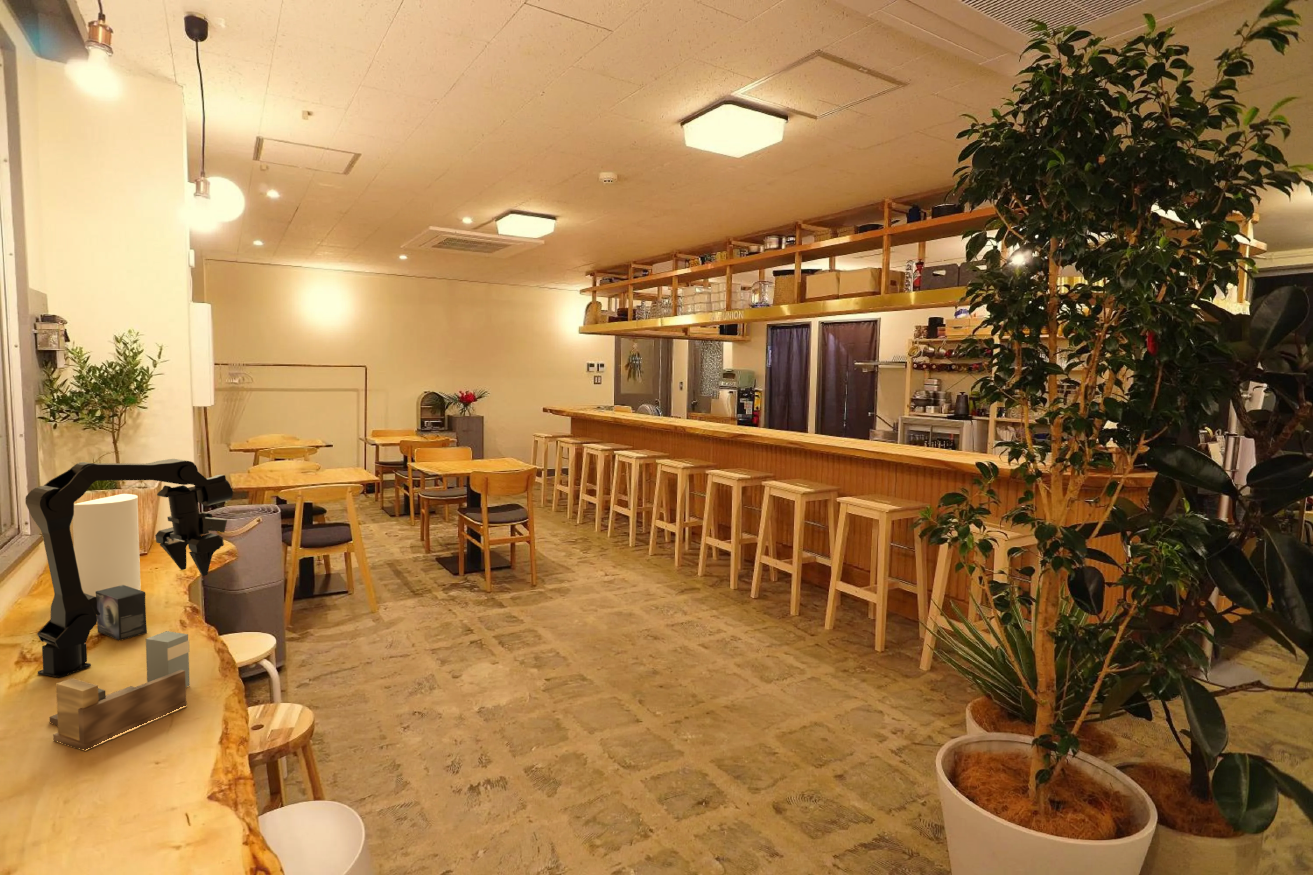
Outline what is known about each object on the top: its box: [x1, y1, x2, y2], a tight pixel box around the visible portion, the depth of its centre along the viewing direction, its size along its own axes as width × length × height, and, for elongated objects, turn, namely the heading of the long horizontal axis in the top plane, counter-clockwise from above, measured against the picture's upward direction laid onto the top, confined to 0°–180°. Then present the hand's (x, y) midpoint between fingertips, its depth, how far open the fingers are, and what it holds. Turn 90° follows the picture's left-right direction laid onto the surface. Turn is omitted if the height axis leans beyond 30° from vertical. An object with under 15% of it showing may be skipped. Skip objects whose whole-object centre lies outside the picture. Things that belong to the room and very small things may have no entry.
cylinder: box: [72, 493, 142, 597], centre depth 194 cm, size 17×17×28 cm
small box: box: [96, 585, 148, 641], centre depth 170 cm, size 11×6×10 cm, turn 62°
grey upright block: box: [145, 630, 190, 688], centre depth 141 cm, size 5×6×11 cm
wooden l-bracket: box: [49, 670, 188, 750], centre depth 128 cm, size 18×16×10 cm
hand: (194, 572), depth 170 cm, fingers open, 9 cm apart
